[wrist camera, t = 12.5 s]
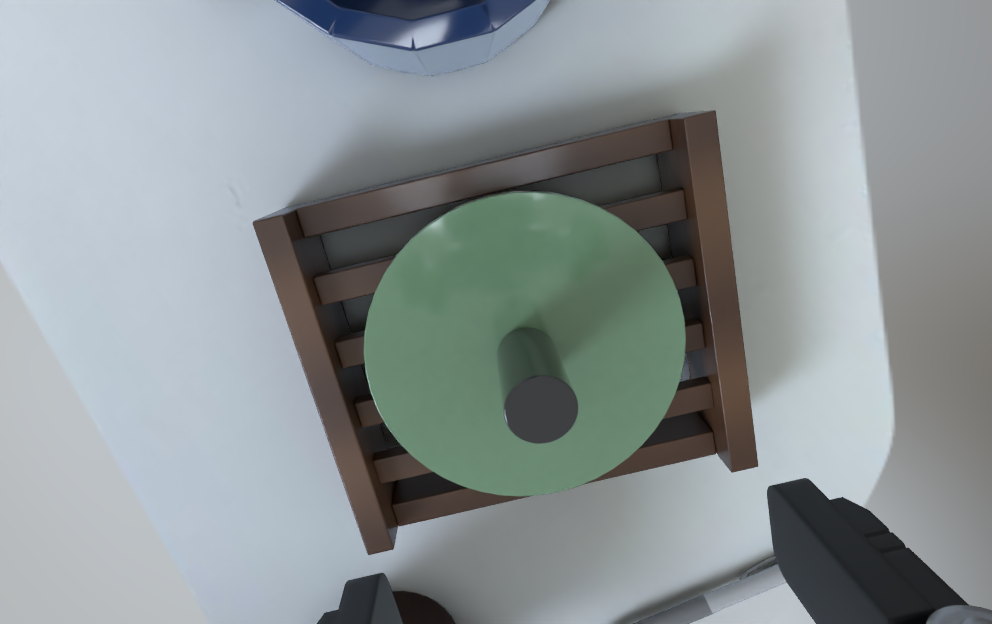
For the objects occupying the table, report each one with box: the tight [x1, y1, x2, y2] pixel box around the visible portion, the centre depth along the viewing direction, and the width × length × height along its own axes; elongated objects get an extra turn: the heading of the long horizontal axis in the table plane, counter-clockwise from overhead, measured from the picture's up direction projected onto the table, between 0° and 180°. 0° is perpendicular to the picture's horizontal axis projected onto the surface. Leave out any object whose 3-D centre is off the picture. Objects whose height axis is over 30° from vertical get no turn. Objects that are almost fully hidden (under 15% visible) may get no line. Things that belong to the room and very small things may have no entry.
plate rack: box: [253, 110, 758, 555], centre depth 26 cm, size 15×17×4 cm
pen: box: [634, 555, 786, 624], centre depth 32 cm, size 1×14×1 cm, turn 116°
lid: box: [364, 190, 686, 496], centre depth 22 cm, size 13×13×6 cm
